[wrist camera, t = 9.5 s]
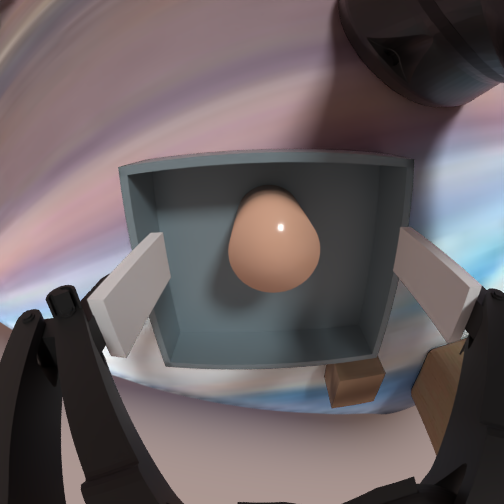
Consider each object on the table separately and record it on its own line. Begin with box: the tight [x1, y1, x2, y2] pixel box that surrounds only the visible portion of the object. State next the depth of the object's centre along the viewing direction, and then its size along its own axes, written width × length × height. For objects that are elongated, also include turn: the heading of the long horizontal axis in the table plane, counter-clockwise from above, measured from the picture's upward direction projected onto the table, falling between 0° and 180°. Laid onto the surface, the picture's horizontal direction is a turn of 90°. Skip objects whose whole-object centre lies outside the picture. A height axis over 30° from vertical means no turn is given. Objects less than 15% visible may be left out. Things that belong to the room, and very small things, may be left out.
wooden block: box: [411, 338, 467, 455], centre depth 21 cm, size 10×10×20 cm
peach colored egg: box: [228, 185, 320, 293], centre depth 18 cm, size 5×5×7 cm
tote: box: [118, 149, 414, 369], centre depth 21 cm, size 17×19×5 cm
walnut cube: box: [324, 356, 386, 408], centre depth 26 cm, size 5×5×5 cm
